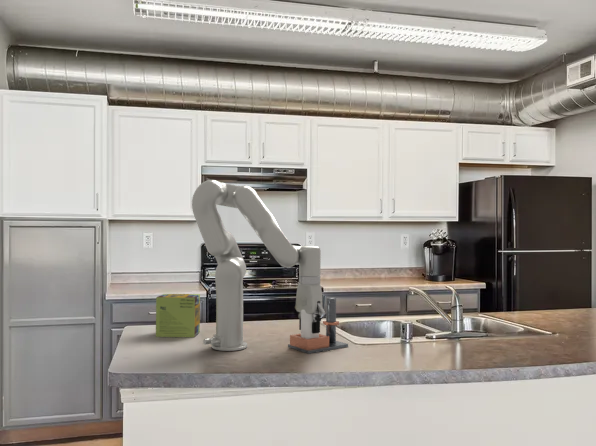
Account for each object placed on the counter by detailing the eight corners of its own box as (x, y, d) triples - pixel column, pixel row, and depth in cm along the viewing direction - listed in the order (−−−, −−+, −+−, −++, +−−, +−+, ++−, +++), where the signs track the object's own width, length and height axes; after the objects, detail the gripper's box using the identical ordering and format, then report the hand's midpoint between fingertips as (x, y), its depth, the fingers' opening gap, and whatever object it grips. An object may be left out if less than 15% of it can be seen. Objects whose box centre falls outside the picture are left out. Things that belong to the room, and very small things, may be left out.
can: (319, 338, 198) (319, 304, 198) (318, 342, 192) (318, 307, 192) (301, 337, 199) (301, 304, 199) (299, 341, 193) (300, 307, 193)
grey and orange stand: (309, 353, 188) (309, 303, 188) (288, 347, 197) (288, 299, 197) (348, 346, 199) (348, 299, 199) (326, 340, 208) (326, 295, 208)
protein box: (195, 337, 213) (195, 297, 212) (155, 337, 213) (155, 296, 213) (200, 332, 223) (200, 293, 223) (162, 331, 223) (162, 293, 223)
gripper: (286, 279, 200) (286, 328, 200) (317, 283, 186) (316, 336, 186) (303, 278, 205) (302, 326, 205) (333, 282, 191) (333, 334, 191)
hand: (309, 330), depth 195 cm, fingers closed on can, 6 cm apart
